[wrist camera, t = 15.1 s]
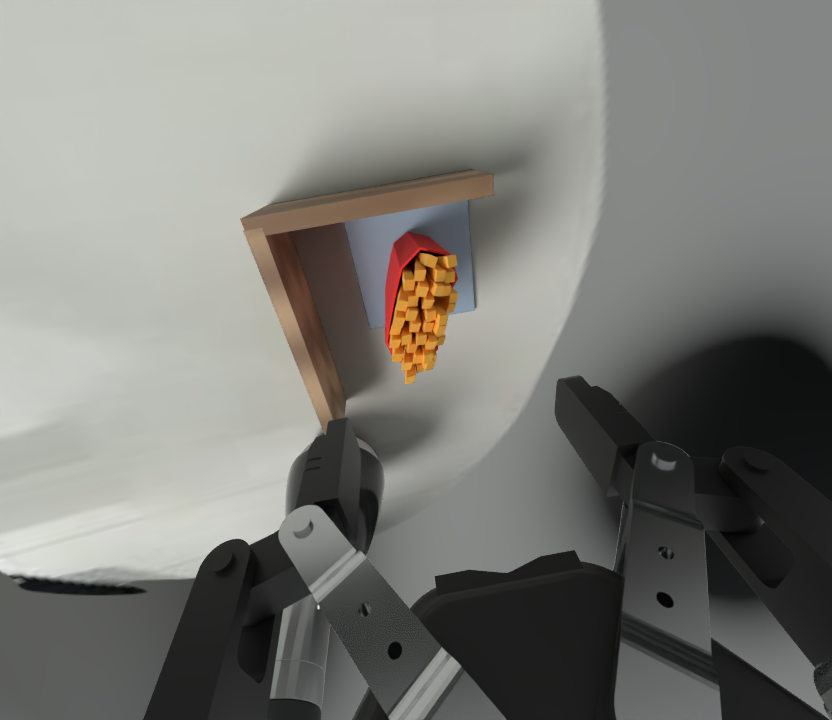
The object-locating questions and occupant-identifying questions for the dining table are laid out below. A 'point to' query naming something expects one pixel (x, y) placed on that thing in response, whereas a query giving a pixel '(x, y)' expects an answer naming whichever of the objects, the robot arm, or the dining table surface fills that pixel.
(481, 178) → the wooden corner bracket
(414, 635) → the robot arm
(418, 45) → the dining table surface
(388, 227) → the mat
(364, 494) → the pump dispenser
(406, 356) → the french fries
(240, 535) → the dining table surface
